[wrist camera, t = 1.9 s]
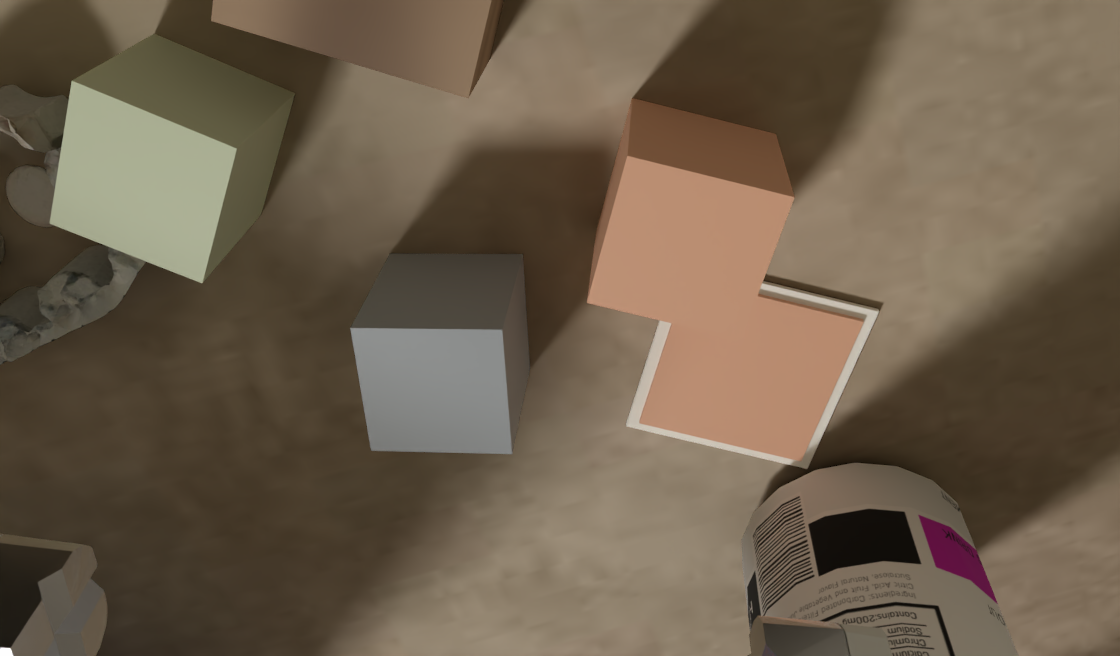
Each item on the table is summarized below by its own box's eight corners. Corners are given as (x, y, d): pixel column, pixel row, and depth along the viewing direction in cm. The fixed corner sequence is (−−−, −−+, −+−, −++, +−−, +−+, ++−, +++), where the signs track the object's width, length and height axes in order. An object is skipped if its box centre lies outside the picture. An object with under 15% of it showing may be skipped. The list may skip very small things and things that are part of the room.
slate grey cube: (522, 253, 33) (502, 329, 29) (530, 367, 35) (512, 454, 31) (390, 252, 33) (350, 328, 29) (406, 365, 36) (371, 450, 31)
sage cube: (295, 92, 31) (236, 148, 26) (261, 213, 33) (202, 283, 29) (155, 33, 30) (71, 80, 26) (130, 160, 32) (49, 223, 28)
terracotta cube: (775, 133, 30) (794, 197, 26) (730, 261, 32) (740, 339, 28) (632, 97, 30) (627, 155, 26) (596, 228, 32) (586, 302, 28)
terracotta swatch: (878, 308, 33) (880, 314, 32) (806, 465, 36) (807, 472, 36) (678, 260, 32) (678, 265, 32) (625, 422, 36) (625, 429, 36)
